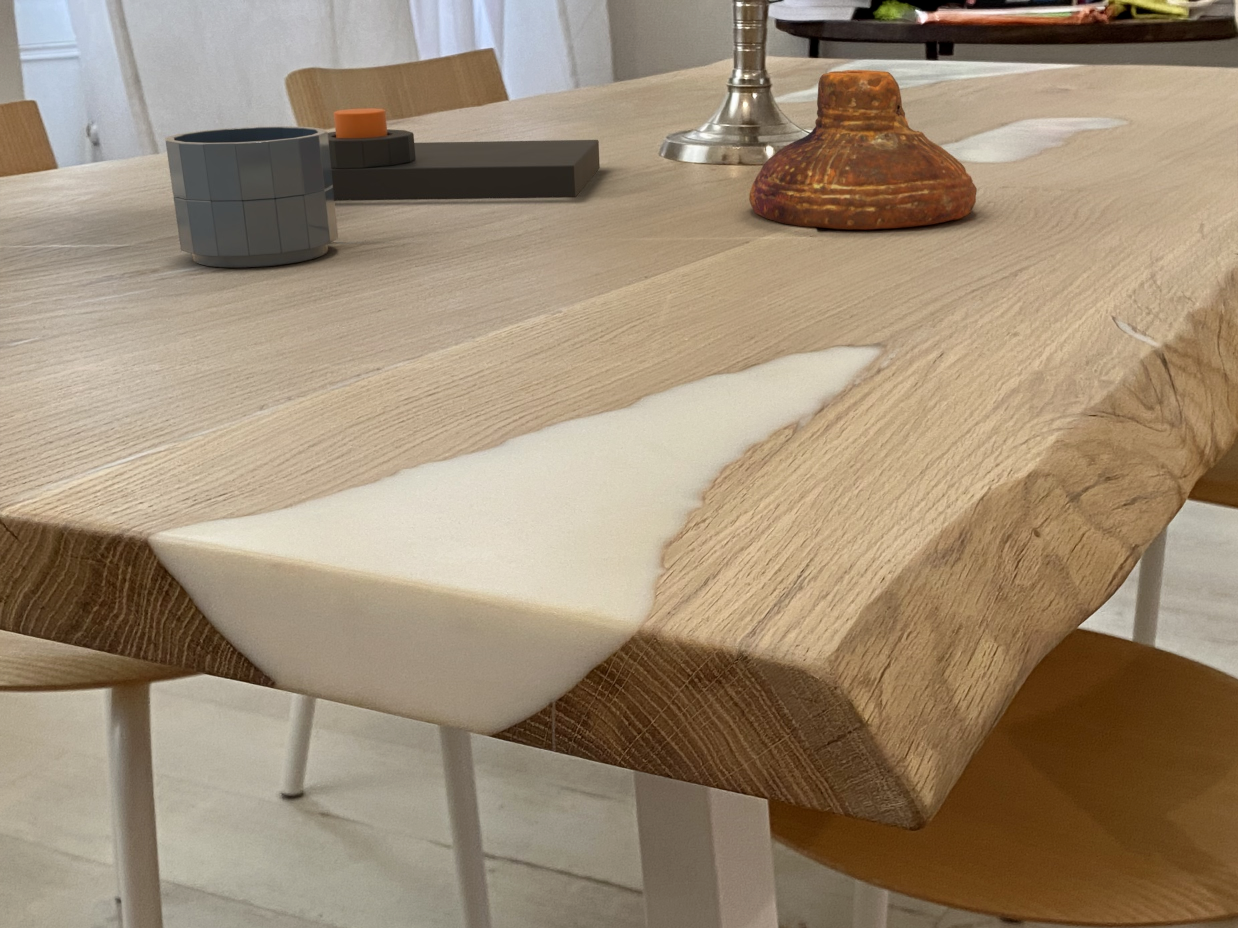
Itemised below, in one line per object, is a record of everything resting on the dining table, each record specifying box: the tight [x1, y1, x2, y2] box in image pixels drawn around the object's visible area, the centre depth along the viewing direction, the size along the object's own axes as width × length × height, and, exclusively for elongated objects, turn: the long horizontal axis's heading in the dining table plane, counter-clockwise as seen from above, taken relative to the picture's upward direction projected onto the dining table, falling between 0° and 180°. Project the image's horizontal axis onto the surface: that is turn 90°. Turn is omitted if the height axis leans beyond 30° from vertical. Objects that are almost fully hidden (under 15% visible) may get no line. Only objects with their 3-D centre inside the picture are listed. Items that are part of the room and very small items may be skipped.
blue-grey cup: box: [164, 125, 339, 269], centre depth 68 cm, size 7×7×6 cm
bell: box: [748, 69, 978, 230], centre depth 75 cm, size 12×12×7 cm
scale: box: [327, 128, 601, 202], centre depth 89 cm, size 16×13×4 cm
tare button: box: [333, 107, 388, 138], centre depth 86 cm, size 3×3×2 cm
